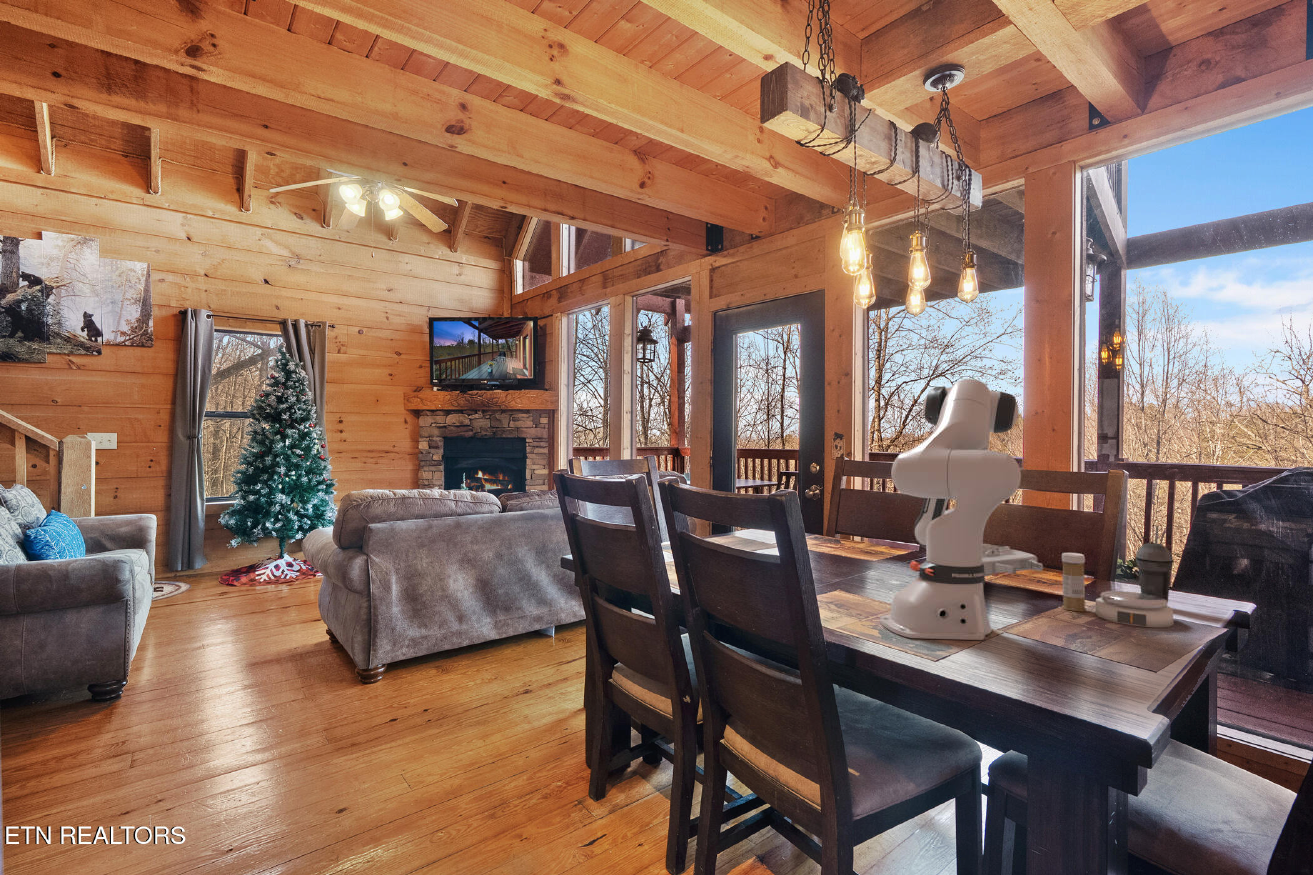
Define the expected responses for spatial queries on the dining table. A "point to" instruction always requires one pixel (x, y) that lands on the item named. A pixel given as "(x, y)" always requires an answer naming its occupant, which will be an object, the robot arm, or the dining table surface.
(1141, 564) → the beverage cup
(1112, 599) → the scale pan
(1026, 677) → the dining table surface
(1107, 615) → the scale base
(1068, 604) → the sprinkles bottle
